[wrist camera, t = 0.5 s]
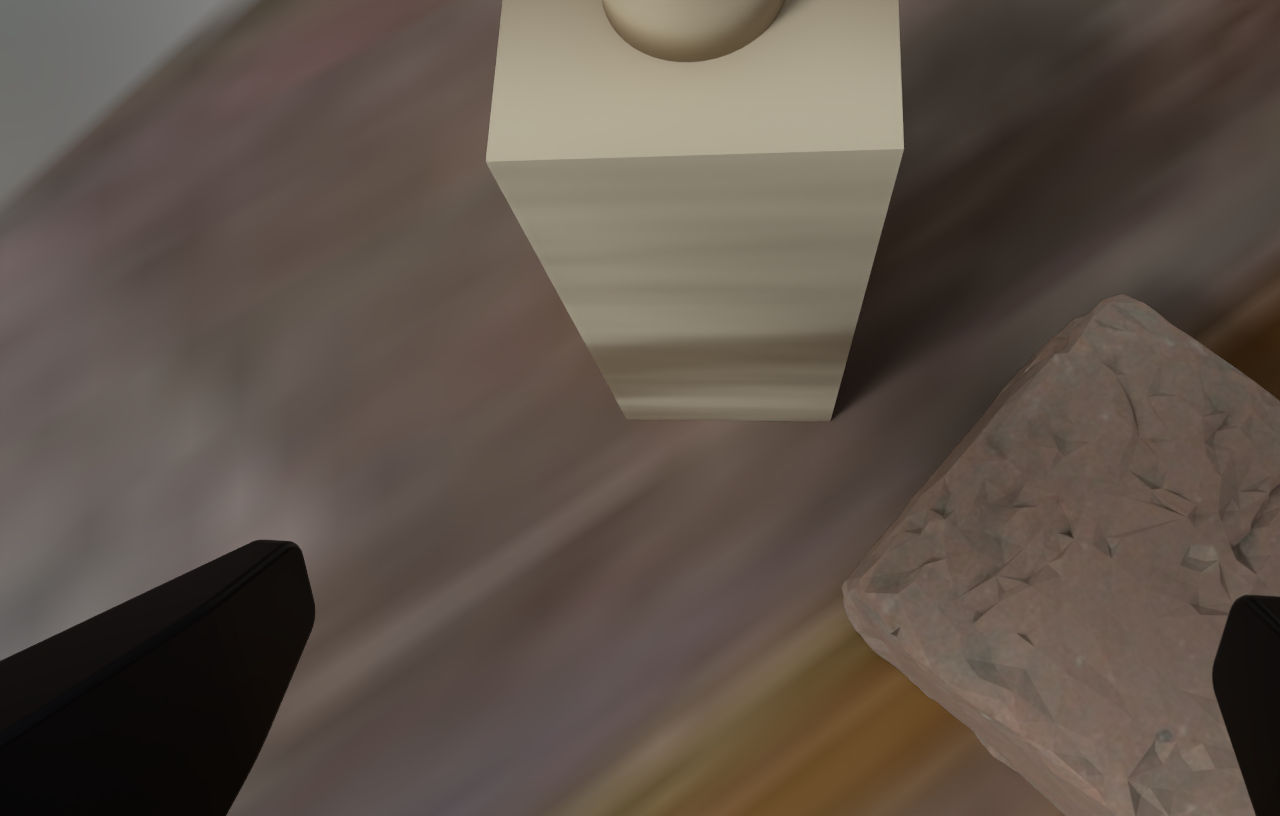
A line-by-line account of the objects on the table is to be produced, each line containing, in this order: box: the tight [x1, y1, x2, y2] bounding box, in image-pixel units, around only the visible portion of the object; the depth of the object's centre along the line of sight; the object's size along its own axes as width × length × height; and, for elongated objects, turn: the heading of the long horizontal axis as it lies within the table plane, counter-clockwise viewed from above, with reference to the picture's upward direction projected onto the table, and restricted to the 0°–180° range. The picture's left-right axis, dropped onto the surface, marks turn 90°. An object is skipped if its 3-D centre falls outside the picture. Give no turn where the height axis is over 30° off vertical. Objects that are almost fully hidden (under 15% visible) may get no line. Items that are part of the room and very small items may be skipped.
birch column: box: [486, 0, 904, 421], centre depth 17 cm, size 5×5×13 cm
